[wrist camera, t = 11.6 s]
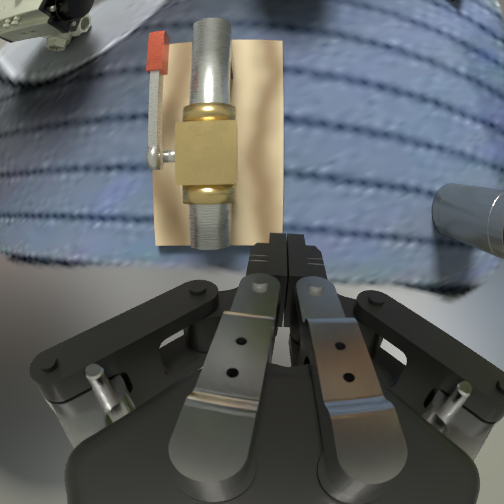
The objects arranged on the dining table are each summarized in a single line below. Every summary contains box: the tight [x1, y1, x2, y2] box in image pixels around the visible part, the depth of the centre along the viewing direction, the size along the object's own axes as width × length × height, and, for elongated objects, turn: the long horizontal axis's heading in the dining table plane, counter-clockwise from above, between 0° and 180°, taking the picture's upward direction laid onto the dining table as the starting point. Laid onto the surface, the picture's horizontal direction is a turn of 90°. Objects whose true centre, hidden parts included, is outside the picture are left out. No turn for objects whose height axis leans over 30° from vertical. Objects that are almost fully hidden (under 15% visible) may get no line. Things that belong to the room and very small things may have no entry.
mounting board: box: [153, 40, 284, 246], centre depth 39 cm, size 18×30×2 cm, turn 0°
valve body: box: [162, 18, 238, 250], centre depth 33 cm, size 8×26×12 cm, turn 0°
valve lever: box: [146, 31, 170, 171], centre depth 29 cm, size 2×3×16 cm
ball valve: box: [0, 0, 94, 51], centre depth 25 cm, size 18×8×18 cm, turn 76°
